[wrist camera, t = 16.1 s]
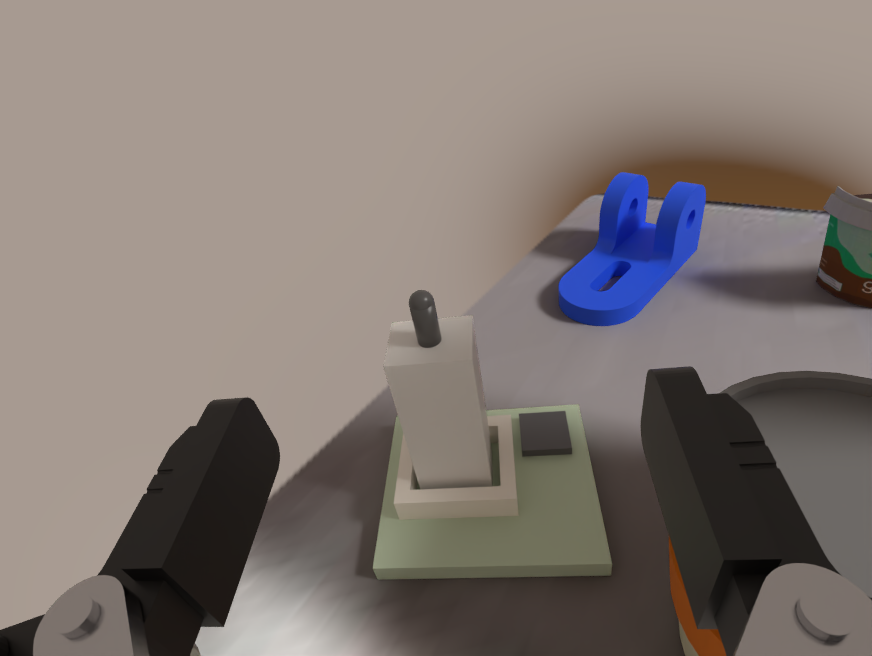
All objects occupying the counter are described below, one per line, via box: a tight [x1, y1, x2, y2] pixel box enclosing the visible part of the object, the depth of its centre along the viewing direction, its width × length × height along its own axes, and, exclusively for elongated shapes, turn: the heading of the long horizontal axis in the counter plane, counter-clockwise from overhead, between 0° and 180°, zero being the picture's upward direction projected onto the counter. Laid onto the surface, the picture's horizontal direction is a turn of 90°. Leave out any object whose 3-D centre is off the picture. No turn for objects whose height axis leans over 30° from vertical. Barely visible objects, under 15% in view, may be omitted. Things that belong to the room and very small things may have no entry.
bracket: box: [559, 172, 706, 326], centre depth 54 cm, size 18×8×9 cm, turn 137°
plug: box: [383, 290, 493, 490], centre depth 33 cm, size 5×5×16 cm
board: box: [373, 404, 612, 580], centre depth 37 cm, size 15×13×4 cm
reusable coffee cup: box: [669, 371, 872, 656], centre depth 23 cm, size 12×13×15 cm
